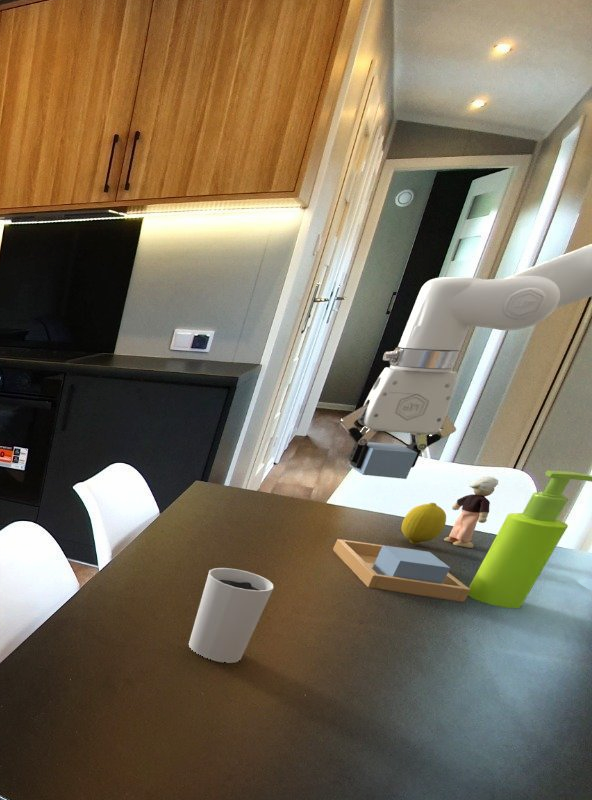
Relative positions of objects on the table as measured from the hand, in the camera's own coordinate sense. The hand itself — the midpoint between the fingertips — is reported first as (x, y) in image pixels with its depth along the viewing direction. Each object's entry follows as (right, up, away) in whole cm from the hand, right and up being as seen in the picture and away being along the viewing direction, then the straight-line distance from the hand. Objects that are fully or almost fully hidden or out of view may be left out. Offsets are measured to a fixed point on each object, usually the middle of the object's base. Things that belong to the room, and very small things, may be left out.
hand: (378, 467), depth 111 cm
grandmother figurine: (+22, -13, +8) cm, 26 cm away
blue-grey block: (-7, -20, -11) cm, 24 cm away
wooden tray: (-5, -19, -8) cm, 21 cm away
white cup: (-50, -29, -31) cm, 66 cm away
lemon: (+12, -13, +6) cm, 19 cm away
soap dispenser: (+3, -23, -16) cm, 29 cm away
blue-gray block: (0, -1, 0) cm, 1 cm away
